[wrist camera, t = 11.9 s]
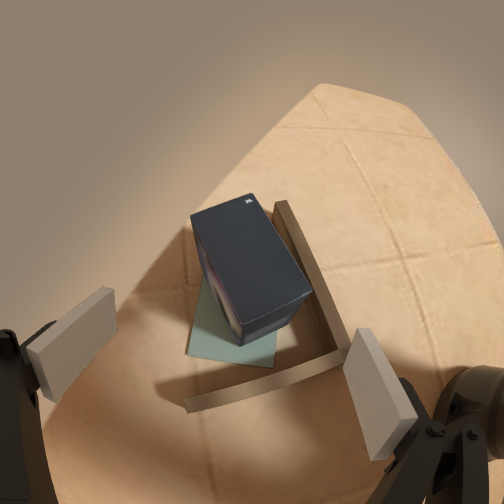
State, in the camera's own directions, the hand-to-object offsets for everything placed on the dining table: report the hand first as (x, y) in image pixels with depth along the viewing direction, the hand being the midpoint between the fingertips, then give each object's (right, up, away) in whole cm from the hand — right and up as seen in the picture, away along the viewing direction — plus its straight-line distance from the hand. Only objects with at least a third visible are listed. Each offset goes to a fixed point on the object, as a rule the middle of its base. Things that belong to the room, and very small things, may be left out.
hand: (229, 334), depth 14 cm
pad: (0, -2, +17) cm, 17 cm away
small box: (0, -1, +17) cm, 17 cm away
